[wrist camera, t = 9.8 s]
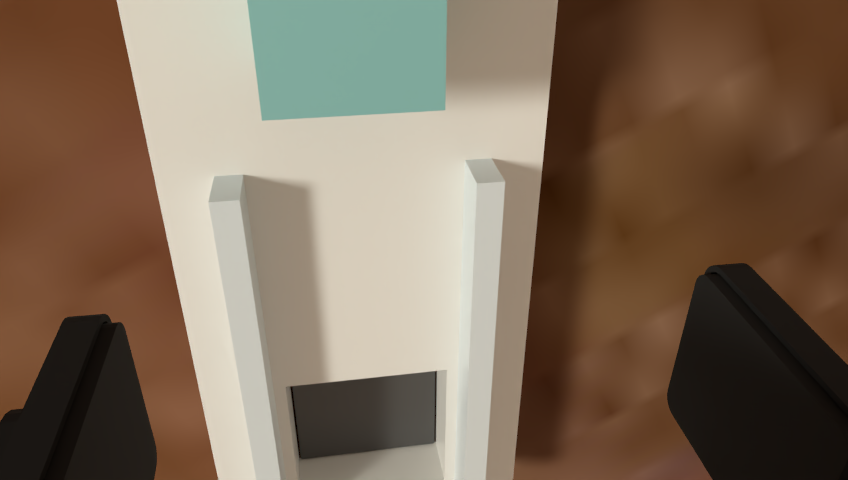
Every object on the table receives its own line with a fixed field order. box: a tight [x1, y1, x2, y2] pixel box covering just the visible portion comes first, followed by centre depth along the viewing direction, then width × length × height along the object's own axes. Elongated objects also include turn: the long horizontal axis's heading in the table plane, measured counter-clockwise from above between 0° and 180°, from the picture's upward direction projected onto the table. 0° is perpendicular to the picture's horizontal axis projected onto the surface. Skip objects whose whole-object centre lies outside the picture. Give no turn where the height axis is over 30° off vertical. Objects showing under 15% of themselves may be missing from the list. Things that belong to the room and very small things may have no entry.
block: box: [247, 0, 447, 121], centre depth 20 cm, size 5×5×5 cm
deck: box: [117, 0, 558, 480], centre depth 28 cm, size 28×14×4 cm, turn 0°
